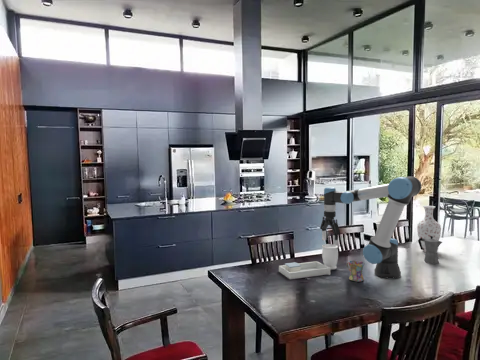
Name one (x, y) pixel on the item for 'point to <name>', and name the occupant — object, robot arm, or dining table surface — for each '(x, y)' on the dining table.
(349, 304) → the dining table surface
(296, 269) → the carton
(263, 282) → the dining table surface
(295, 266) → the lid
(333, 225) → the robot arm
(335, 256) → the jar
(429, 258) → the coffeepot
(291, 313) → the dining table surface
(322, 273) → the white rectangular tray
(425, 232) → the vase
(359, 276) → the candy bag
